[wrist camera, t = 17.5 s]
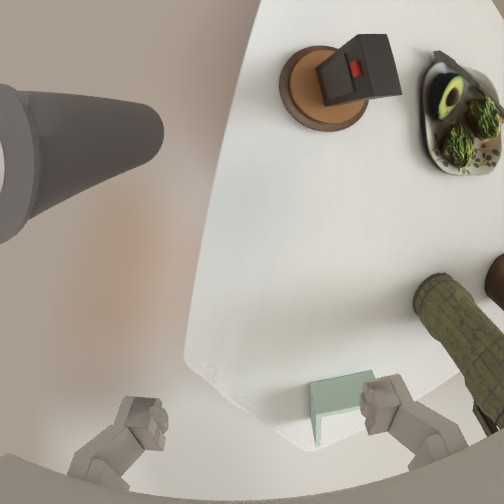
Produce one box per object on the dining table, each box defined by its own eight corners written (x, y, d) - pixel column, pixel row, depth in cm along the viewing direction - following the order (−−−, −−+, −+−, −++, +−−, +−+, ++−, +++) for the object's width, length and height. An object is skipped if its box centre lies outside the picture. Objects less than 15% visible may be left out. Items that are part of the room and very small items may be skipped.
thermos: (402, 325, 46) (496, 499, 14) (424, 263, 41) (568, 435, 9) (440, 323, 46) (535, 471, 14) (462, 265, 41) (595, 407, 9)
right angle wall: (310, 417, 55) (315, 446, 48) (309, 382, 50) (316, 414, 43) (365, 406, 54) (374, 433, 48) (371, 370, 50) (384, 399, 43)
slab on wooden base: (369, 118, 32) (441, 120, 18) (298, 129, 32) (336, 131, 18) (353, 49, 28) (415, 12, 14) (281, 57, 29) (304, 11, 15)
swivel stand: (274, 123, 33) (275, 123, 32) (284, 40, 29) (285, 38, 28) (361, 139, 34) (363, 139, 33) (370, 59, 30) (373, 57, 29)
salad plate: (502, 74, 28) (520, 74, 24) (504, 177, 35) (522, 184, 31) (412, 47, 28) (429, 41, 24) (418, 172, 35) (436, 179, 31)
